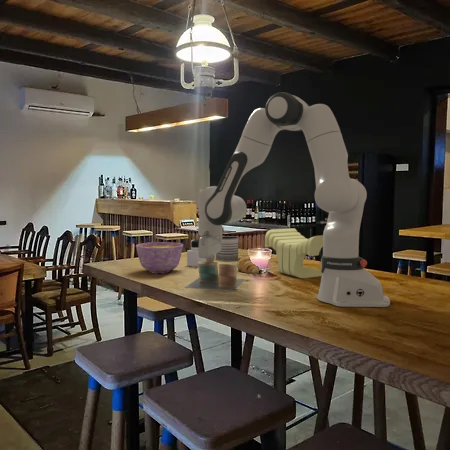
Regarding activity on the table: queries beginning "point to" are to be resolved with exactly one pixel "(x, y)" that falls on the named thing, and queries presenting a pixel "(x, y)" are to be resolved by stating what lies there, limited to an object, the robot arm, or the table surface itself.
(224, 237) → the can
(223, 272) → the tile
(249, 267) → the croissant
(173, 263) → the purple bowl
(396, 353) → the table surface
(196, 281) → the board
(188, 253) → the medicine bottle
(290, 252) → the slatted curved stool
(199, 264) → the tile
